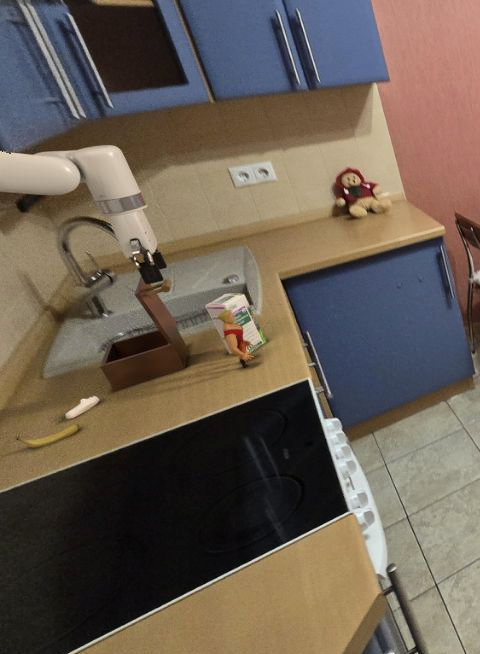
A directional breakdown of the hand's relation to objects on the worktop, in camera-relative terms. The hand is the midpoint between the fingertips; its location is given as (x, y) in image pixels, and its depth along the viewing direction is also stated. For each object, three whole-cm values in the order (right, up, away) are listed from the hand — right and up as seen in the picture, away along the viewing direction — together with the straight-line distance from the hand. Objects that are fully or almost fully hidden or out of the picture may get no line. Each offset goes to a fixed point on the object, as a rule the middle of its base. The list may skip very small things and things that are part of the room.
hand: (157, 275), depth 122 cm
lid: (-2, -8, +2) cm, 8 cm away
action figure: (+19, -21, +4) cm, 29 cm away
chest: (-5, -23, +5) cm, 24 cm away
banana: (-5, -33, -17) cm, 38 cm away
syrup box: (+13, -19, +10) cm, 25 cm away
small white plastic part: (-8, -30, -9) cm, 32 cm away
